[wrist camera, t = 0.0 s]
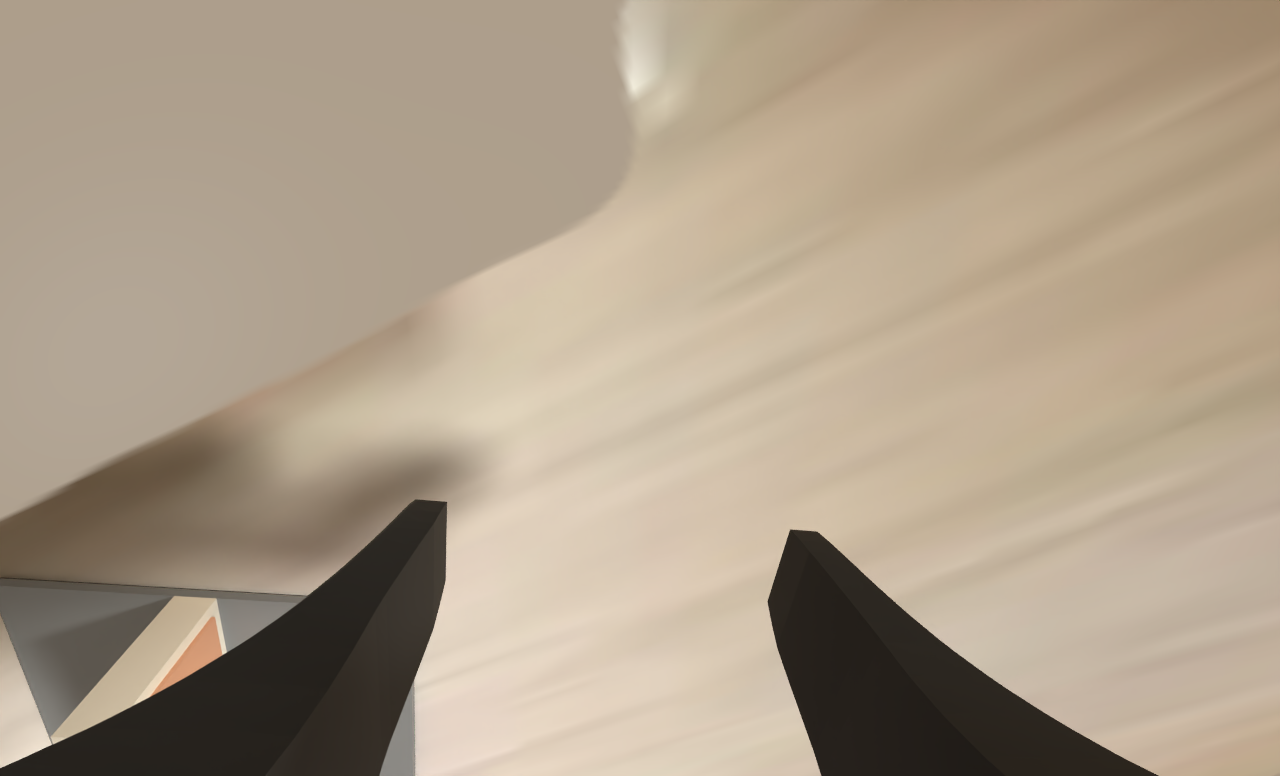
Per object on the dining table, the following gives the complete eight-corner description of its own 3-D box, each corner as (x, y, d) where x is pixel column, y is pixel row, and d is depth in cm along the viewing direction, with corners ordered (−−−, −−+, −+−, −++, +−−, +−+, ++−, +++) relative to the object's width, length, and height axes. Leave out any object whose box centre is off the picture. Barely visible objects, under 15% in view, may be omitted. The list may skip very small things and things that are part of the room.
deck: (244, 728, 27) (157, 879, 22) (204, 726, 27) (106, 879, 22) (220, 598, 24) (111, 738, 19) (174, 596, 24) (50, 736, 18)
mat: (415, 777, 30) (413, 785, 30) (72, 769, 28) (65, 778, 28) (413, 602, 25) (410, 609, 25) (-2, 577, 23) (-12, 585, 23)
